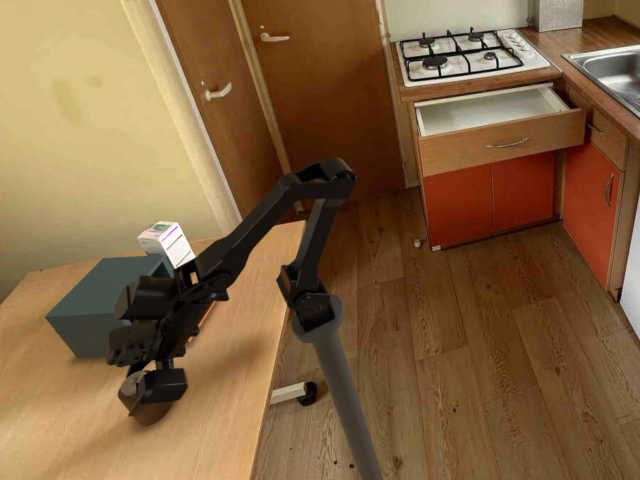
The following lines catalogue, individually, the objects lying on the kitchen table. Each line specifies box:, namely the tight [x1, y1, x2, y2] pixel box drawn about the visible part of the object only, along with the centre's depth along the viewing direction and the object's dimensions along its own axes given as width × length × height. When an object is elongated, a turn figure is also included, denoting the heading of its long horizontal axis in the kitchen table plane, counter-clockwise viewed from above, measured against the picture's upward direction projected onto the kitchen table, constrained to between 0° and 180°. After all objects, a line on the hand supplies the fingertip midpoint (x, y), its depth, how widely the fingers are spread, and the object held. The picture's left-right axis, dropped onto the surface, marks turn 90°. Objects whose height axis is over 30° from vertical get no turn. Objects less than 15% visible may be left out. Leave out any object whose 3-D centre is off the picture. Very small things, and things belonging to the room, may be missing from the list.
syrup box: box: [136, 220, 196, 270], centre depth 101 cm, size 6×6×14 cm
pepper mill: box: [117, 369, 173, 428], centre depth 75 cm, size 5×5×10 cm
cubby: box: [44, 255, 173, 360], centre depth 89 cm, size 13×14×13 cm
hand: (130, 396), depth 73 cm, fingers open, 8 cm apart
